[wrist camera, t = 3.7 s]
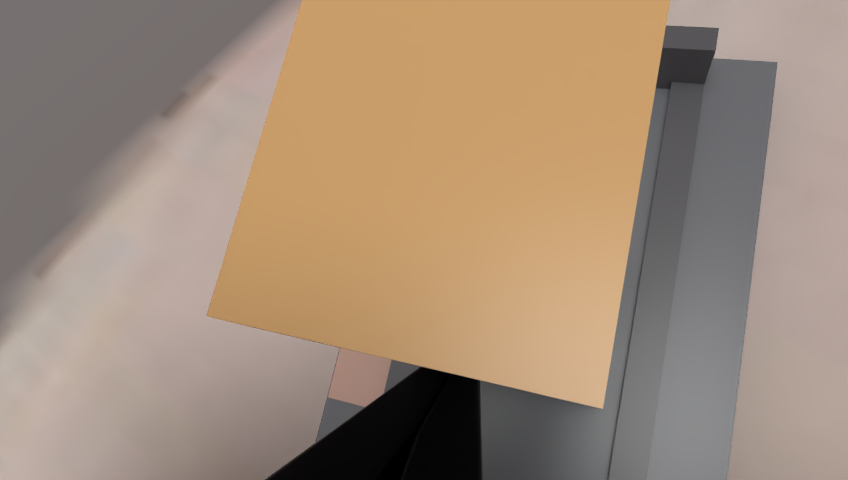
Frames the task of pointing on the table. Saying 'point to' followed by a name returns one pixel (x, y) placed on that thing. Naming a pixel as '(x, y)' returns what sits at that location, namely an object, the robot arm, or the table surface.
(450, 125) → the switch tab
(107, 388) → the table surface
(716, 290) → the switch board
